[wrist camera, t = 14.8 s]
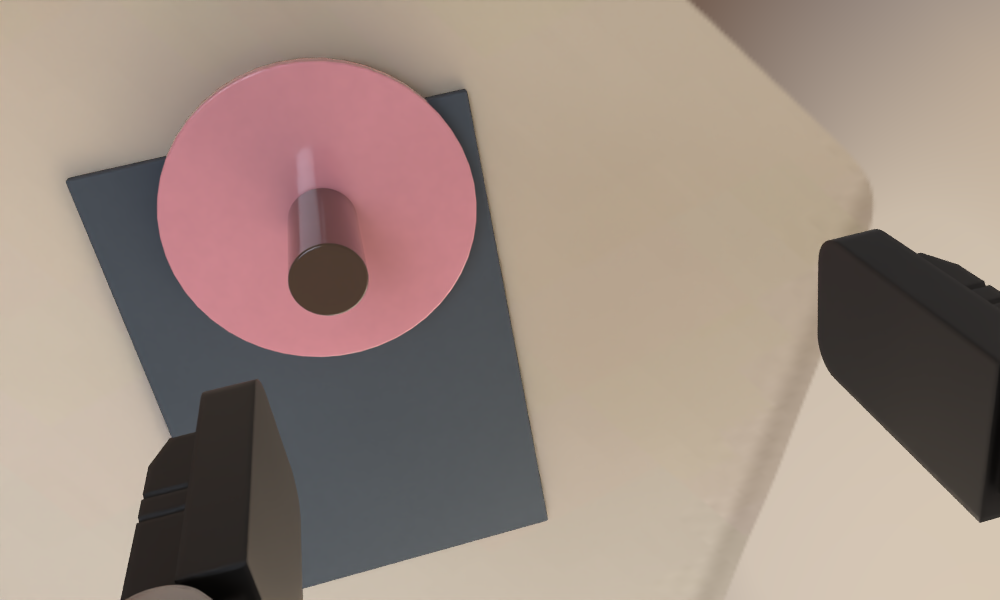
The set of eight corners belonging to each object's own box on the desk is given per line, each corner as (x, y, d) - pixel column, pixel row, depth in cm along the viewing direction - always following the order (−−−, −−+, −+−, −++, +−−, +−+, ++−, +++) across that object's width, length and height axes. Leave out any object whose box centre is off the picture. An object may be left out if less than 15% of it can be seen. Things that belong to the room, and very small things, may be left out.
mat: (67, 178, 31) (65, 181, 31) (465, 88, 33) (466, 90, 33) (241, 599, 41) (241, 606, 40) (546, 515, 42) (548, 520, 42)
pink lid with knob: (113, 93, 30) (73, 149, 25) (439, 22, 31) (472, 60, 26) (217, 373, 35) (204, 472, 30) (494, 303, 36) (532, 386, 31)
